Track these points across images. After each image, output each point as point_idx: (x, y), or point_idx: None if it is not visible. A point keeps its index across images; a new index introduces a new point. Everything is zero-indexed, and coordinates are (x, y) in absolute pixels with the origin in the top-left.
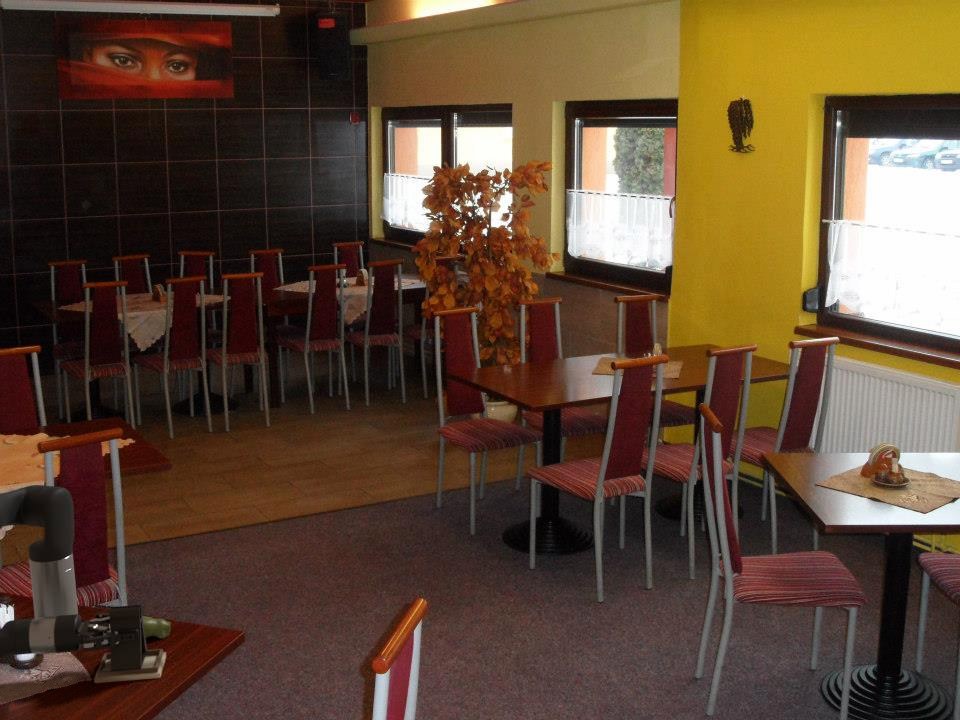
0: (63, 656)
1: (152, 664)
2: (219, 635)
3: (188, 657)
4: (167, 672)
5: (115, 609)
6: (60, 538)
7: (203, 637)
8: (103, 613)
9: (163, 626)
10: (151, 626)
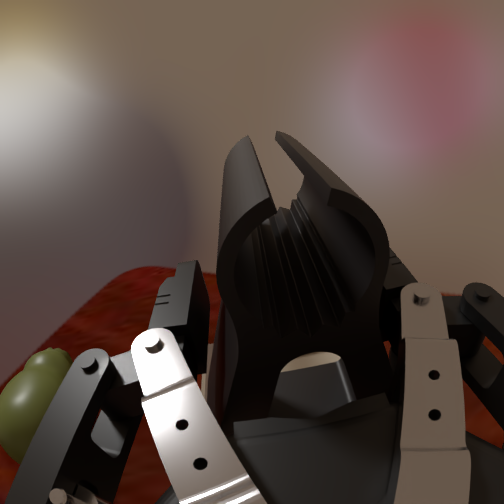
0: None
1: (295, 361)
2: (127, 286)
3: None
4: None
5: (326, 171)
6: None
7: (122, 308)
8: (26, 471)
9: (63, 359)
10: (58, 379)
